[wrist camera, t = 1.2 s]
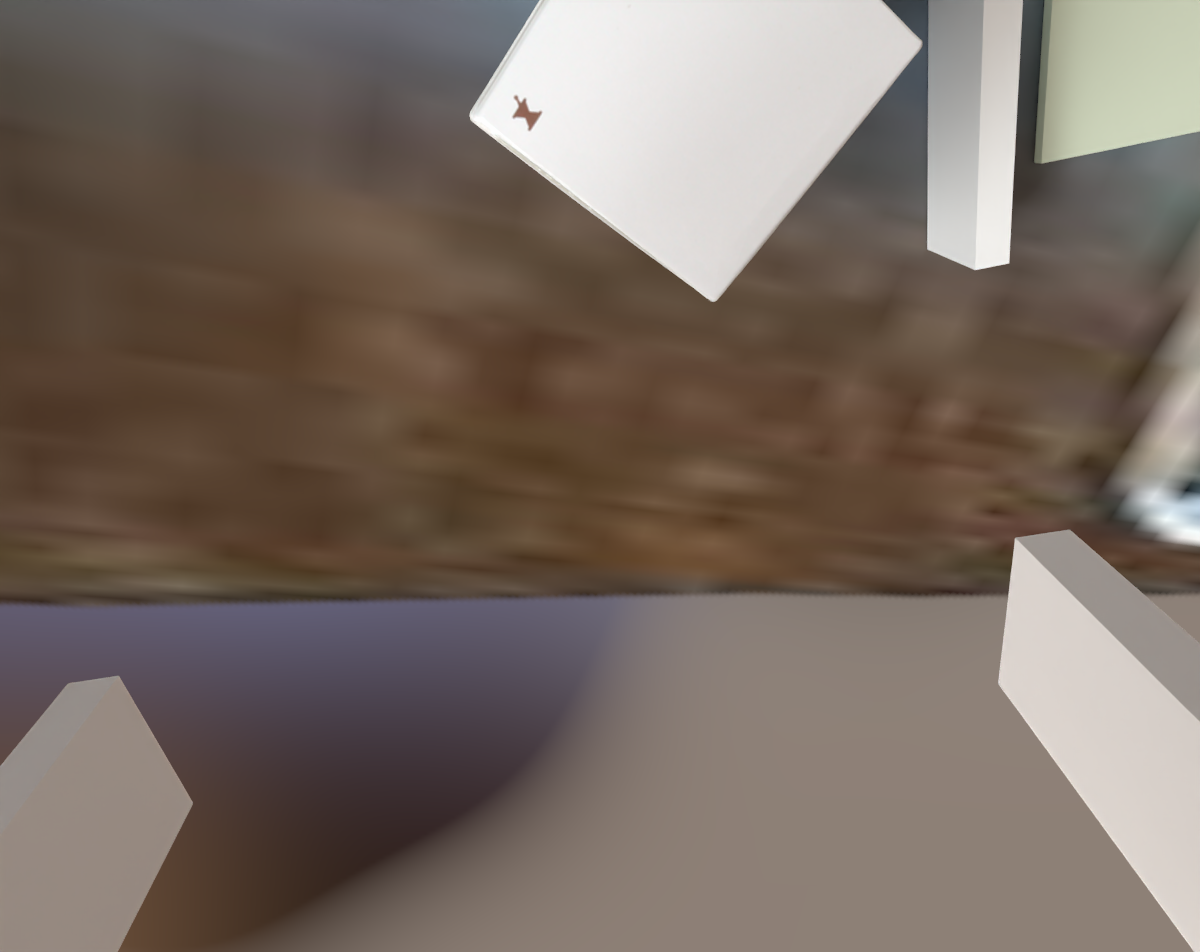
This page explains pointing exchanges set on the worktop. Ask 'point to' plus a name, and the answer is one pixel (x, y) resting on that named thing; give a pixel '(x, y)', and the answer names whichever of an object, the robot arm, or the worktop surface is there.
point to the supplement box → (692, 113)
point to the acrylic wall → (972, 128)
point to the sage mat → (1116, 75)
